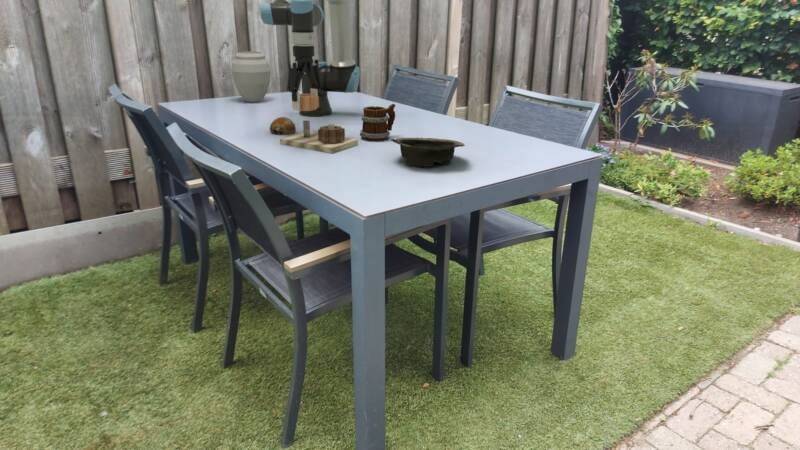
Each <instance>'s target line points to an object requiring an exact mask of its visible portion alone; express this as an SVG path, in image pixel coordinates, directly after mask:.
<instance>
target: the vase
mask: <svg viewBox="0 0 800 450" xmlns="http://www.w3.org/2000/svg"><path fill="white" fill-rule="evenodd" d="M230 69H231V70H230V71H231V75H232V79H233V83H234V85H235V87H236V90H237V92H238V93H239V95H240V97H241V98H242V99H243V100H244V101H245V102H247V103H260V102H261V101H263V100H264V98H265V96H266V95H267V92H268V89H269V86H270V83H271V74H272V73H271V71H272V70H271V69H272V68H271V66H270V63H269V61H268V60H267V59H266V55H265V54H264V53H262V51H255V50H254V51H252V50H250V51H238V52H237V53H236V54H235V55H234V59H233V61H232V62H231V68H230Z"/></svg>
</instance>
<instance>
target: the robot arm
mask: <svg viewBox="0 0 800 450" xmlns="http://www.w3.org/2000/svg"><path fill="white" fill-rule="evenodd" d="M326 1H327V3H328V11H329V23H330V37H331V38H330V39H331V41H330V42H331V52H332V53H331V54H332V59H331V61H329V64H328V63H327V62H326V61H319V59H314V58H313V57H314V56H315V47H314V44H315V41H314V40H315V39H314V38H315V37H314V36H315V35H314V27H316V26H319V25H320V24H321V23H322V22H323V21H324V17H325V16H324V14H325V13H324V11H323V9H322V7H321V6H319V5H317V4H315V3H314V2H313V0H274V1H273V2H264V3H262V4H261V6H260V13H259V14H260V18H261V21H262V23H263V24H265V25H269V26H291V38H292V39H291V42H292V44H293V46H292V55H293V57H294V58H295V59H294V61H289V62H288V69H289V70H288V75H287V76H288V77H287V85H286V90H287V91H288V92H291V102H292V101H293V107H292V111H296V112H298V114H299V115H300V116H305V117H326V116H331V115H332V111H333V110H332V107H331V104H330V101H329V100H330V99H329V97H328V92H329V93H331V92H332V93H346V94H347V93H355V92H356V91H357V90H358V87H359V84H360V78H361V70H360V69H361V68H360V67H359V66H358V65H357V64H356V60H354V59H353V57H352V56H353V55H352V54H353V53H352V33H351V14H350V2H351V1H352V0H326ZM356 65H357V66H356ZM300 85H301V93H300V91H299V88H300ZM300 94H315V95H316V96H319V108H317V109H316V110H312V111H300Z"/></svg>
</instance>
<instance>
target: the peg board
mask: <svg viewBox="0 0 800 450" xmlns="http://www.w3.org/2000/svg"><path fill="white" fill-rule="evenodd" d="M310 123H311V122H310V120H302V129H303V131H302V132H299V133H294V134H290V135H289V136H285V137H282V138H279V144H280V145H283V146H288V145H289V147H295V148H299V147H300V149H305V150H310V151H315V152H316V151H317V152H321V153H327V154H331V155H332V154H335V153H338V152H341V151H343V150H347V149H350V148H352V147H355V146H359V145H358V144H359V139H358V138H353V137H345V136H346V134H345V131H346V129H345V127H342V126H340V125H336V124H334V123H333V124H331V123H329V124H327V125H322V126H320V127H319V128H317V132H316V131H311V128H310V127H311V124H310Z"/></svg>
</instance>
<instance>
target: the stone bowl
mask: <svg viewBox="0 0 800 450" xmlns="http://www.w3.org/2000/svg"><path fill="white" fill-rule="evenodd" d="M390 142H393V143H395V144H397V145H399V146H400V147H399V148H400V154H401V157H402V158H403V159H405V161H406V165H407V166H409V167H416V168H421V167H431V166H432V167H433V166H434V165H435V162H436V163H439V164H440V165H443V166H446V165H450V164H451V163H452V161H453V158H454V154H455V151H456V150H455V149H456V148H458V147H460V148H461V147H465V146H466V145H465V143H463V142H461V141H459V140H452V139H449V138H447V139H445V138H434V137H397V138H392V139H390Z"/></svg>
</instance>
